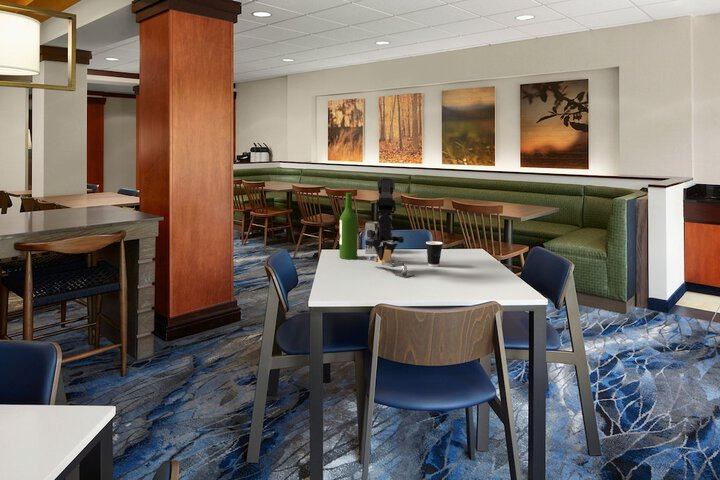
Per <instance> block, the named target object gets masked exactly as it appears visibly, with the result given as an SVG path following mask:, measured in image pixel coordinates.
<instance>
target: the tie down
mask: <svg viewBox="0 0 720 480" xmlns="http://www.w3.org/2000/svg"><path fill="white" fill-rule="evenodd" d="M365 258H366V259H365V260H367V261H371V262H374V263H378V264H381V266H385V267H388V268H389V267H390V268H397V267H402V266H403V265H405V262H404V261H398V260H394V259H392V254H391V250H388V249H384V254H383V259H382V260H380V259H379V256H378V257H375V255H368V256H366V257H365Z"/></svg>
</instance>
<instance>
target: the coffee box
mask: <svg viewBox="0 0 720 480" xmlns="http://www.w3.org/2000/svg"><path fill="white" fill-rule="evenodd" d="M377 227H379V221H367V222H365V229H364V230H365V231H364V232H365V234H364V235H365V237H364V238H365V240H364V253H365V254H373V255H374V254H375V255H377V250H376V248H375V247H373V246H368V245H365V243H366V239H369V238H370V237H367V231H368V230H373V231H376V228H377Z"/></svg>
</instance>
